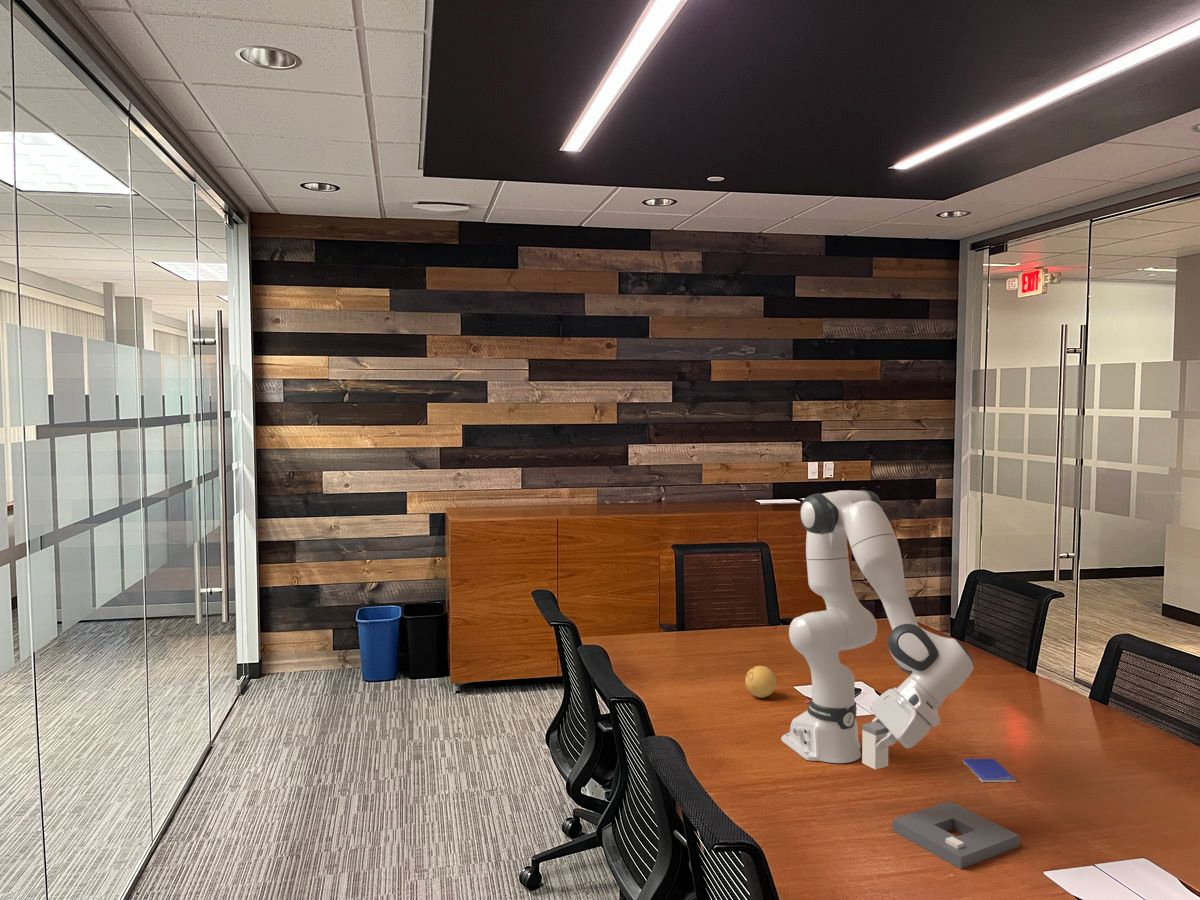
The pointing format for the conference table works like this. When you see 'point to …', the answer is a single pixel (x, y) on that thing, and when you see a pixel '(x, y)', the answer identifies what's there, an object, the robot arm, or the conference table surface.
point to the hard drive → (989, 770)
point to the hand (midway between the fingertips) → (872, 742)
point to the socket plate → (962, 850)
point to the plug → (869, 750)
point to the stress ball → (760, 681)
